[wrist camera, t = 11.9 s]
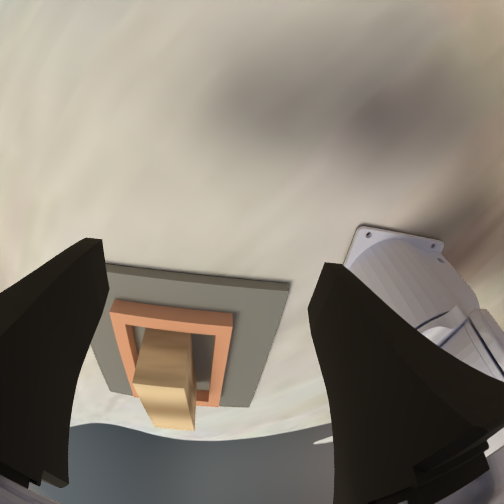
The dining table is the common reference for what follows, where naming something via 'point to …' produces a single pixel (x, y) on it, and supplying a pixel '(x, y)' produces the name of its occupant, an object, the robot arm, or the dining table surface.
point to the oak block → (167, 378)
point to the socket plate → (191, 328)
